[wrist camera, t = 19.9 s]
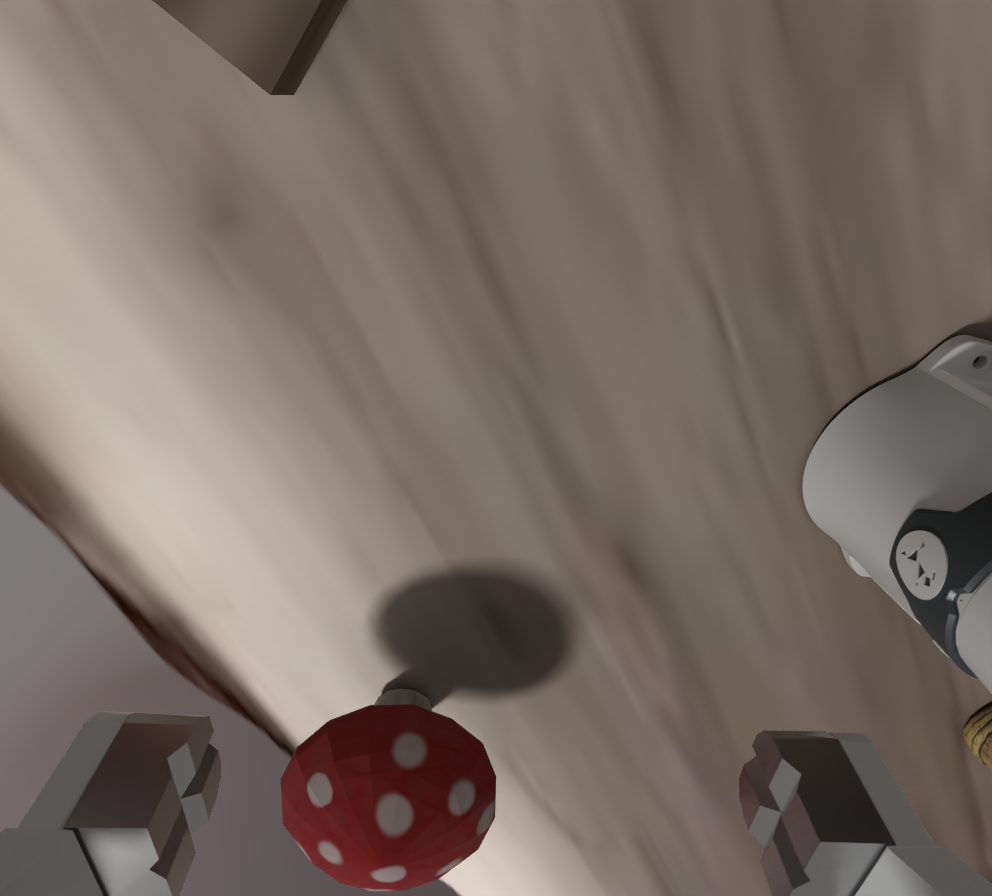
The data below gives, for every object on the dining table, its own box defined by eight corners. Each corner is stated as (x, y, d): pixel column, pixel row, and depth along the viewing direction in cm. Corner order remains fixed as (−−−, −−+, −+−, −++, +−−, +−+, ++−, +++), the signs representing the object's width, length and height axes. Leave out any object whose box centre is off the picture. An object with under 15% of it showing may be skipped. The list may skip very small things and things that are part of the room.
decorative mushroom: (274, 669, 53) (205, 857, 40) (431, 595, 49) (412, 777, 36) (384, 768, 60) (356, 956, 47) (529, 710, 56) (543, 897, 43)
